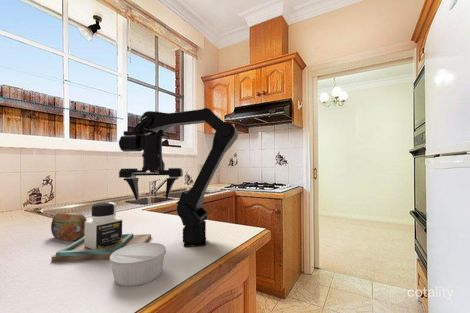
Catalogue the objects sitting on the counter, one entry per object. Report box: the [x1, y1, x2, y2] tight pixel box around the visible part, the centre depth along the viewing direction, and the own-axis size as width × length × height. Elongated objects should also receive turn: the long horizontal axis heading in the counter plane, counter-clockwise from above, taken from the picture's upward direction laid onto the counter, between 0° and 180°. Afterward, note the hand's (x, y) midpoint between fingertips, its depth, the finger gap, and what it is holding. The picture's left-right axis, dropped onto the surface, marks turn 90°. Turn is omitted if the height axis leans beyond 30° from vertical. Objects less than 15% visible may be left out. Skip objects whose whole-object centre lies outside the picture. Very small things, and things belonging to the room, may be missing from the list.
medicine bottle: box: [84, 201, 123, 249], centre depth 64 cm, size 7×7×12 cm
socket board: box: [50, 233, 152, 263], centre depth 64 cm, size 20×16×2 cm
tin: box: [50, 212, 88, 242], centre depth 73 cm, size 15×3×8 cm, turn 68°
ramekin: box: [109, 242, 167, 287], centre depth 48 cm, size 11×11×5 cm
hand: (152, 199), depth 71 cm, fingers open, 9 cm apart
